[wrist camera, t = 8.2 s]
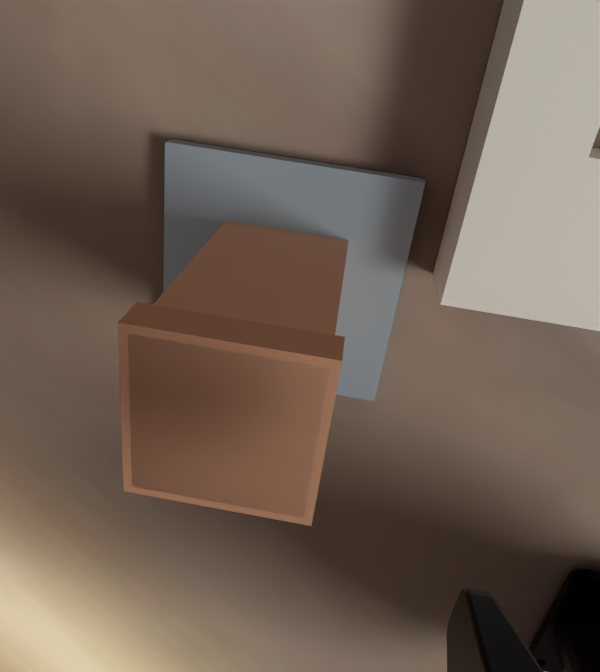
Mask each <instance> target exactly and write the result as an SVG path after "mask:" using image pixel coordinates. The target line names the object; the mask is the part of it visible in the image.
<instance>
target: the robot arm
mask: <svg viewBox="0 0 600 672" xmlns="http://www.w3.org/2000/svg"><path fill="white" fill-rule="evenodd" d="M543 671H548V672H600V572H597V571H591V570H586V569H577V570H574V571H572V572H571V573H570V574H569V575H568V577H567V579H566V581H565V582H564V584H563V586H562V588H561V590H560V592H559V594H558V596H557V597H556V599H555V601H554V603H553V605H552V607H551V609H550V611H549V612H548V614H547V616H546V618H545V620H544V622H543V624H542V626H541V628H540V629H539V631H538V633H537V635H536V637H535V639H534V641H533V643H532V644H531V646H530V648H529V649H528V648H527V646H526V645H525V643H524V642H523V640H522V639H521V637H520V636H519V634H518V633H517V631H516V630H515V628H514V627H513V625H512V624H511V622H510V621H509V619H508V618H507V616H506V615H505V613H504V612H503V610H502V609H501V607H500V606H499V604H498V603H497V601H496V600H495V598H494V597H493V596H492V595H491V594H490V593H488V592H485V591H480V590H475V589H470V588H465V589H463V590H462V591H461V592H460V594H459V597H458V599H457V602H456V604H455V607H454V609H453V612H452V614H451V617H450V619H449V622H448V627H447V672H543Z"/></svg>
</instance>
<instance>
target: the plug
mask: <svg viewBox="0 0 600 672" xmlns="http://www.w3.org/2000/svg"><path fill="white" fill-rule="evenodd" d="M348 242H349V240H343V239H337V238H331V237H325V236H318V235H312V234H306V233H300V232H293V231H287V230H281V229H274V228H268V227H262V226H256V225H249V224H243V223H237V222H230V221H225V222H224V224H223V225H222V226H221V227H220V228H219V229H218V230H217V232H216V233H215V234H214V235H213V236H212V237H211V239H210V240H209V241H208V242H207V243H206V244H205V245H204V247H203V248H202V249H201V250H200V251H199V252H198V253H197V255H196V256H195V257H194V258H193V259H192V260H191V261H190V263H189V264H188V265H187V266H186V267H185V268H184V269H183V271H182V272H181V273H180V274H179V275H178V276H177V278H176V279H175V280H174V281H173V282H172V283H171V284H170V286H169V287H168V288H167V289H166V290H165V291H164V292H163V294H162V295H161V296H160V297H159V298H158V299H157V300H156V302H155V303H154V304H147V303H141V302H137V303H136V304H135V305H134V306H133V307H132V308H131V309H130V310H129V311H128V312H127V313H126V314H125V315H124V316H123V317H122V318H121V320H120V321H119V322H118V350H119V378H120V406H121V434H122V462H123V490H124V491H125V492H130V493H136V494H141V495H146V496H152V497H157V498H163V499H168V500H173V501H179V502H184V503H190V504H195V505H200V506H206V507H211V508H216V509H222V510H227V511H233V512H238V513H243V514H249V515H254V516H260V517H265V518H270V519H276V520H281V521H286V522H292V523H297V524H303V525H308V526H312V520H313V515H314V510H315V504H316V499H317V494H318V488H319V483H320V478H321V472H322V467H323V462H324V456H325V451H326V446H327V440H328V435H329V430H330V424H331V419H332V414H333V408H334V403H335V398H336V392H337V387H338V382H339V376H340V371H341V365H342V360H343V350H344V341H345V337H344V336H338V335H335V332H336V325H337V318H338V311H339V304H340V298H341V291H342V284H343V277H344V270H345V263H346V256H347V249H348Z"/></svg>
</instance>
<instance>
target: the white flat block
mask: <svg viewBox="0 0 600 672" xmlns="http://www.w3.org/2000/svg"><path fill="white" fill-rule="evenodd" d="M599 127H600V0H504V2H503V6H502V10H501V13H500V17H499V21H498V25H497V29H496V33H495V37H494V40H493V44H492V48H491V52H490V56H489V60H488V63H487V67H486V71H485V75H484V79H483V83H482V87H481V90H480V94H479V98H478V102H477V106H476V110H475V114H474V117H473V121H472V125H471V129H470V133H469V137H468V140H467V144H466V148H465V152H464V156H463V160H462V164H461V167H460V171H459V175H458V179H457V183H456V187H455V191H454V194H453V198H452V202H451V206H450V210H449V214H448V217H447V221H446V225H445V229H444V233H443V237H442V241H441V244H440V248H439V252H438V256H437V260H436V264H435V268H434V271H433V276H434V280H435V284H436V288H437V292H438V296H439V300H440V304H441V305H447V306H453V307H459V308H465V309H471V310H477V311H483V312H489V313H495V314H501V315H507V316H513V317H519V318H525V319H531V320H537V321H543V322H549V323H554V324H560V325H566V326H572V327H578V328H584V329H590V330H596V331H600V149H599V148H593V147H592V146H593V144H594V141H595V138H596V135H597V133H598V130H599Z"/></svg>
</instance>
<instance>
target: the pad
mask: <svg viewBox="0 0 600 672" xmlns="http://www.w3.org/2000/svg"><path fill="white" fill-rule="evenodd" d="M424 187H425V180H424V178H418V177H411V176H405V175H399V174H392V173H386V172H379V171H373V170H367V169H360V168H354V167H347V166H341V165H335V164H328V163H322V162H316V161H309V160H303V159H296V158H290V157H284V156H277V155H271V154H264V153H258V152H252V151H245V150H239V149H232V148H226V147H220V146H213V145H207V144H201V143H194V142H188V141H181V140H175V139H170V140H168V141H166V142H165V188H164V272H163V292H164V291H165V290H166V289H167V288H168V287H169V286H170V284H171V283H172V282H173V281H174V280H175V279H176V278H177V276H178V275H179V274H180V273H181V272H182V271H183V269H184V268H185V267H186V266H187V265H188V264H189V263H190V261H191V260H192V259H193V258H194V257H195V256H196V255H197V253H198V252H199V251H200V250H201V249H202V248H203V247H204V245H205V244H206V243H207V242H208V241H209V240H210V239H211V237H212V236H213V235H214V234H215V233H216V232H217V230H218V229H219V228H220V227H221V226H222V225H223V224H224V222H225V221H230V222H237V223H243V224H249V225H256V226H262V227H268V228H274V229H281V230H287V231H293V232H300V233H306V234H312V235H318V236H325V237H331V238H337V239H343V240H349V242H348V249H347V256H346V263H345V270H344V277H343V284H342V291H341V298H340V304H339V311H338V318H337V325H336V332H335V335H338V336H344V337H345V341H344V350H343V360H342V365H341V371H340V376H339V382H338V387H337V392H336V395H341V396H347V397H353V398H358V399H364V400H370V401H375V397H376V393H377V388H378V384H379V380H380V375H381V371H382V367H383V363H384V358H385V354H386V350H387V345H388V341H389V337H390V333H391V328H392V324H393V320H394V315H395V311H396V307H397V303H398V298H399V294H400V290H401V285H402V281H403V277H404V273H405V268H406V264H407V260H408V255H409V251H410V247H411V243H412V238H413V234H414V230H415V225H416V221H417V217H418V213H419V208H420V204H421V200H422V195H423V191H424Z"/></svg>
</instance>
